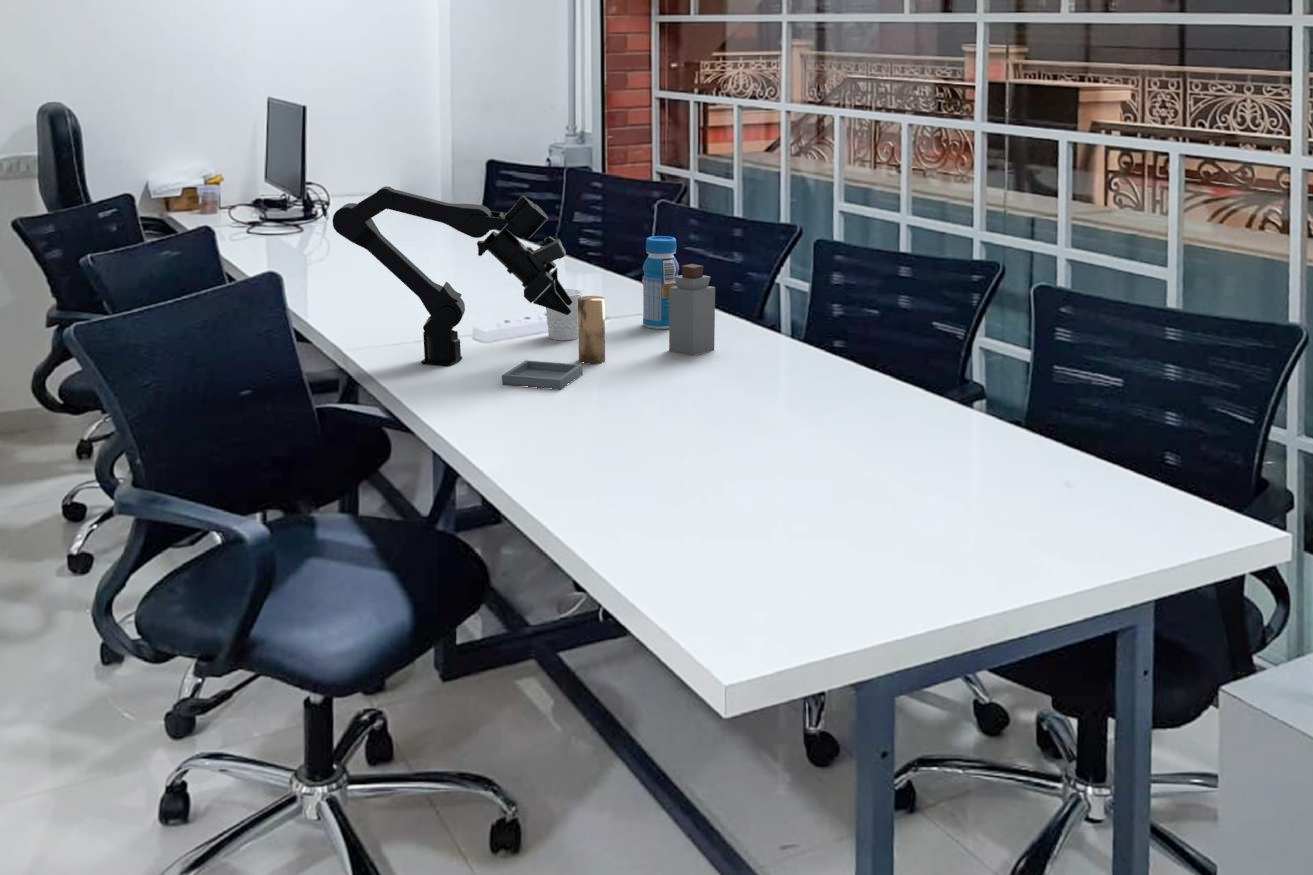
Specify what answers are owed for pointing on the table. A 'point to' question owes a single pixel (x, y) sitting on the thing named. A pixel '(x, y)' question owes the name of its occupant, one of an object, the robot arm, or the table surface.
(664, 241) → the beverage bottle
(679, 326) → the perfume bottle
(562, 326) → the white cup
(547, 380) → the tray
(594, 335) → the can
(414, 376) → the table surface
